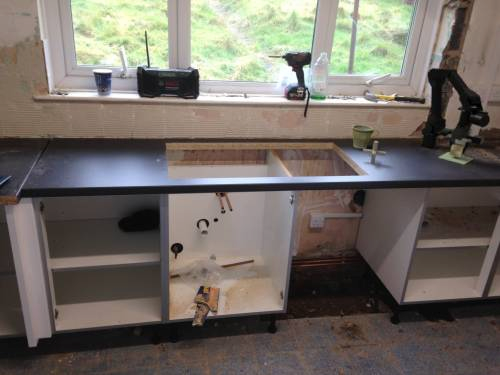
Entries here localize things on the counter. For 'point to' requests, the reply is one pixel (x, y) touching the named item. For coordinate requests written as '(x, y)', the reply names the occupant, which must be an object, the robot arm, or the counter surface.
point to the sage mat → (456, 158)
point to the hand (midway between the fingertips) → (457, 153)
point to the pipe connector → (374, 152)
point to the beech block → (457, 150)
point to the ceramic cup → (362, 136)
